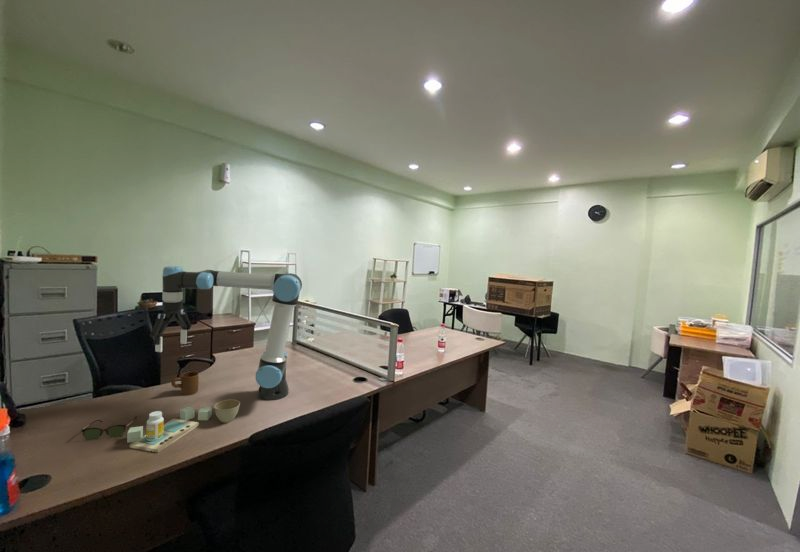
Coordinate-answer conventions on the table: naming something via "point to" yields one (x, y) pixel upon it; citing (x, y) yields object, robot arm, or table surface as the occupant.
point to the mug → (187, 383)
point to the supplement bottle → (155, 426)
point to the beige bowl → (227, 410)
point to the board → (166, 435)
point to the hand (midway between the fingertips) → (171, 347)
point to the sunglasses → (111, 431)
